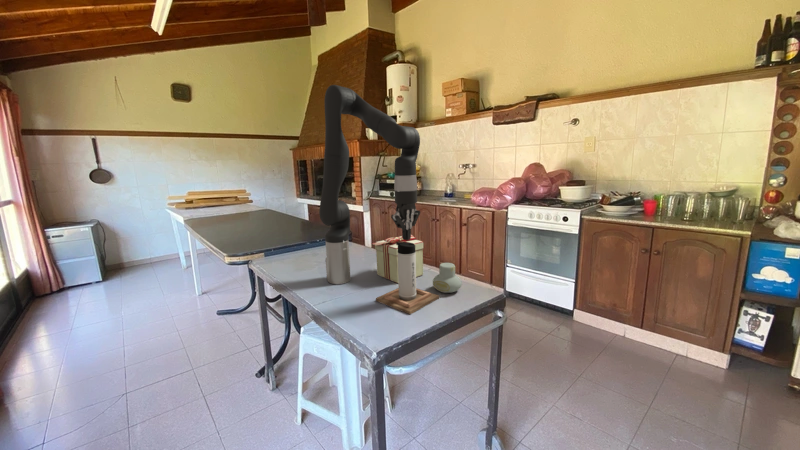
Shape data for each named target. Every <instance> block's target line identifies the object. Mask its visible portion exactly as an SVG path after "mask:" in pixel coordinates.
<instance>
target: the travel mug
mask: <svg viewBox="0 0 800 450" xmlns="http://www.w3.org/2000/svg"><path fill="white" fill-rule="evenodd" d="M396 245H398V283H397V284H398V288H399V298H400V299H402V300H413V299H415V298H416V288H417V277H416V251H415V245H414V244H413V243H409V242H397V243H396Z"/></svg>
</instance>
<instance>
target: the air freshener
mask: <svg viewBox="0 0 800 450" xmlns="http://www.w3.org/2000/svg"><path fill="white" fill-rule="evenodd" d="M438 273H439V274H437V275H436V276H434V278H433V279H432V286H433V287H434V288H435V289H436V290H437V291H439V292H440V293H442V294H443V293H444V294H451V293H454V292H455V293H456V292H457V291H458V290H460V289H461V288H462V285H463V283H462V279H461V278H460V277H459V276H458V275H457V274H456V265H455V264H454V263H452V262H442V263H440V264H439V271H438Z"/></svg>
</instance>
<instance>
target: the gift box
mask: <svg viewBox="0 0 800 450" xmlns="http://www.w3.org/2000/svg"><path fill="white" fill-rule="evenodd" d="M397 242H409V243H413V244H414V245H415V251H416V278H417V277H420V276H423V275H424V258H423V256H424V255H423V250H424V241H422V240H419V239H417V237H415V236H414V235H413V234H411V239H410V240H404V239H403V237H402V235H401V236H396V237H388V238H384V240H379V241H375V242H371V245H373V246H374V250H375V253H376V254H375V255H376V274H377V276H380V277H381V278H384V279H386V280H389V281H392V282H394V283H396V284H398V245H396V243H397Z"/></svg>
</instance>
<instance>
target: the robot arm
mask: <svg viewBox="0 0 800 450" xmlns="http://www.w3.org/2000/svg"><path fill="white" fill-rule="evenodd" d="M342 115H349V116H353V117H355V118H358V119H359V120H361V121H362V122H363V123H364V125H365V126H366V127H367V128H368V129H370V130H371V131H372V132H374V133H376V134H377V135H378V136H380V137H382V138H383V140H384V141H386V143H388V145H389V146H391V147H393V148H395V149H399V150H401V151H400V152H401V153H400V156H398V157H396V158H395V160H394V181H393V182H394V183H393V184H394V186H393V188H394V189H393V190H394V191H393V192H394V203H395V204H396V208H395V213H394V214H391V216H390V217H391V219H392V221H393V223H394V224H395V225H396V227H397V228H398V229H401V231H402V235H401V236H402V237H403V239H404V240H410V239H411V235H412V228H413V227H415V225H416V224H417V221H418V220H419V217H420V215H421V211H420V210H417V206H416V204H417V202H418V179H417V159H418V156H419V151H420V145H421V136H420V133H419V131H418V130H417V128H415V127H413V126H406V125H400V124H398V123H397V121H396V119H394V118H393V117H392V116H390V115H389V114H387V113H385V112H383V111H381V110H380V109H378V108H376V107H374V106H372V105H371V104H370V103H368V102H367V101H366V100H364V99H363V98H362V97H361V96H360V95H359V94H358V93H356V92H355V91H354V90H353V89H351V88H349V87H345V86H341V85H337V84H330V85H329V86H328V87H327V89H326V91H325V95H324V120H325V121H324V122H325V124H324V125H325V127H324V128H325V133H324V135H325V137H324V138H325V139H324V156H323V178H322V187H321V188H322V189H321V196H320V201H319V202H320V203H319V218H320V221H321V223H323V225H325V226H330V228H329V229H328V230H327V232H326V233H325V235H324V239H325V240H324V241H325V252H326V253H325V254H326V256H325V269H326V270H325V271H326V281H328V283H330V284H333V285H341V284H342V285H343V284H347V283H348V282H350V281H351V263H350V262H351V261H350V243H349V240H350V239H349V235H350V232H351V213H350V211H351V210H350V208H349V205H348V204H347V202H345V201H344V200H340V199H339V194H340V191H341V190H340V189H341V187H342V184H343V183H344V180H345V178H346V175H347V173H348V171H349V164H350V163H349V162H350V149H349V146H348V145H349V144H348V142H347V140H346V137H345V136H344V133H343V130H342Z"/></svg>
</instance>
